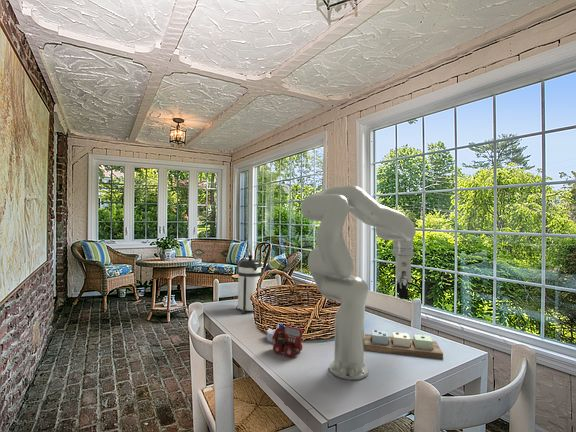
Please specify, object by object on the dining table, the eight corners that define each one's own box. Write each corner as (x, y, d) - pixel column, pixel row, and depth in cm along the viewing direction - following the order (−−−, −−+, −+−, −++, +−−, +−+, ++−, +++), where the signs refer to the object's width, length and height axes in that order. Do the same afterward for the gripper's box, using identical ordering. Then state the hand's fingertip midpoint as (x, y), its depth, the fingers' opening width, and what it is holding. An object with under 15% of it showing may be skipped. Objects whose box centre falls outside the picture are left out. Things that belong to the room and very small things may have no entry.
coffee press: (268, 308, 177) (269, 254, 177) (255, 316, 162) (256, 257, 162) (240, 304, 183) (241, 252, 183) (225, 312, 168) (226, 255, 168)
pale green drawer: (432, 349, 120) (432, 340, 120) (415, 347, 122) (415, 338, 122) (429, 343, 126) (429, 335, 126) (413, 341, 128) (413, 333, 128)
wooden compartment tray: (443, 359, 117) (443, 353, 117) (364, 349, 123) (364, 344, 123) (436, 346, 128) (436, 341, 128) (364, 338, 135) (364, 333, 135)
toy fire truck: (278, 346, 126) (279, 319, 126) (306, 353, 119) (306, 325, 119) (268, 352, 120) (268, 324, 120) (296, 360, 113) (297, 331, 113)
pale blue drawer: (388, 344, 124) (388, 336, 124) (372, 342, 126) (372, 334, 126) (387, 338, 130) (387, 330, 130) (372, 337, 131) (372, 329, 131)
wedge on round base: (300, 338, 134) (271, 333, 139) (300, 322, 134) (272, 318, 139) (293, 346, 126) (263, 341, 130) (294, 328, 126) (264, 324, 130)
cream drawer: (410, 346, 122) (410, 338, 122) (393, 345, 124) (393, 336, 124) (408, 341, 128) (408, 332, 128) (392, 339, 130) (392, 331, 130)
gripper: (416, 255, 117) (415, 302, 117) (410, 250, 134) (409, 291, 134) (394, 254, 119) (394, 300, 119) (391, 249, 135) (390, 290, 135)
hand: (402, 295), depth 126 cm, fingers open, 9 cm apart
